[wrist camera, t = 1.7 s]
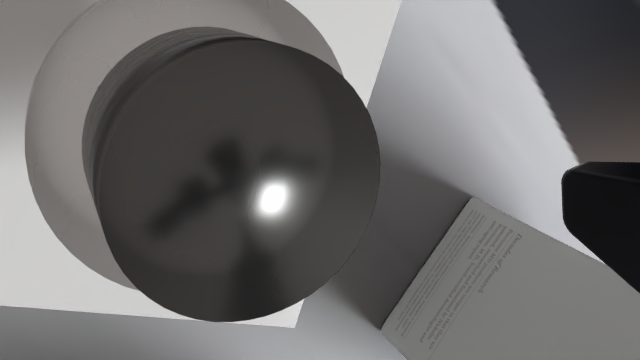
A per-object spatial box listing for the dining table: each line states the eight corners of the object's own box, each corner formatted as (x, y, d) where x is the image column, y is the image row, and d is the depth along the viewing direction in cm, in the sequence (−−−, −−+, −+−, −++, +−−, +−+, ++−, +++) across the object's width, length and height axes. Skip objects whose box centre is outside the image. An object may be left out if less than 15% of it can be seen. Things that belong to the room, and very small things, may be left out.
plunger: (251, 262, 18) (398, 446, 11) (-82, 219, 14) (-179, 467, 7) (338, -20, 17) (569, -12, 10) (-6, -160, 13) (-35, -318, 6)
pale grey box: (236, 252, 23) (294, 327, 18) (-265, 184, 16) (-385, 276, 11) (327, -48, 21) (419, -52, 16) (-200, -273, 14) (-312, -397, 9)
